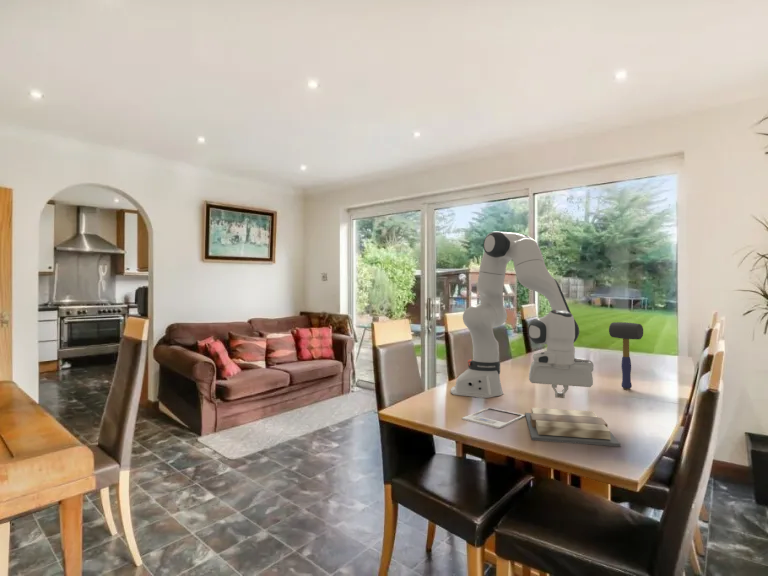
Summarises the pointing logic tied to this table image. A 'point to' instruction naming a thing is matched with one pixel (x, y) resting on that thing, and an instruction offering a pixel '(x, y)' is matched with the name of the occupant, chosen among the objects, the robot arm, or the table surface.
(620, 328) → the rubber mallet
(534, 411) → the ash plank far
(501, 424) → the photo frame
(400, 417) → the table surface
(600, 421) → the striped wooden plank
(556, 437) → the underlay mat
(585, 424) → the ash plank near
